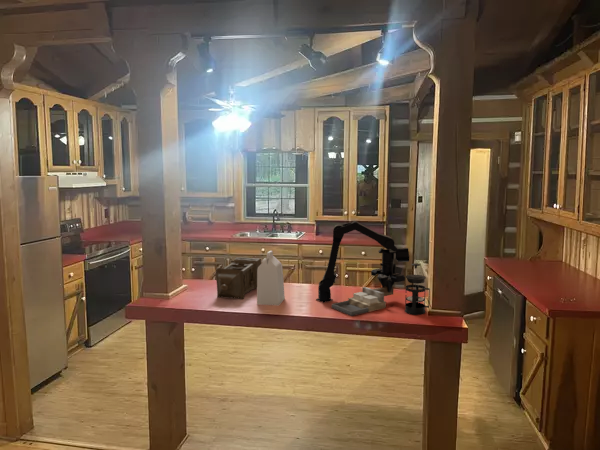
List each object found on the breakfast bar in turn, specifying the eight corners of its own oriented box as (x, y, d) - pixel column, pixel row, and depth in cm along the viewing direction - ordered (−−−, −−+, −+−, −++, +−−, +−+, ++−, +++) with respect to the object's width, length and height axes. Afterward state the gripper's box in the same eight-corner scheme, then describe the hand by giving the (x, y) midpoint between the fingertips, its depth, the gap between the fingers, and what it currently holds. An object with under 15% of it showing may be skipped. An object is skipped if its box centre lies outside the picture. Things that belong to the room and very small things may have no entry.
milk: (279, 305, 227) (277, 254, 224) (256, 304, 230) (255, 253, 226) (284, 298, 239) (283, 249, 236) (263, 297, 241) (262, 249, 238)
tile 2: (362, 301, 221) (362, 296, 221) (370, 299, 224) (370, 295, 223) (369, 304, 217) (369, 299, 217) (377, 302, 220) (377, 297, 219)
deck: (348, 304, 227) (348, 298, 227) (365, 300, 233) (365, 294, 233) (368, 311, 215) (368, 305, 215) (385, 307, 221) (385, 301, 220)
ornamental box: (235, 309, 230) (238, 275, 227) (204, 302, 235) (206, 268, 231) (261, 289, 263) (264, 259, 260) (233, 284, 268) (236, 253, 264)
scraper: (362, 294, 231) (362, 287, 231) (382, 290, 239) (382, 283, 238) (381, 301, 220) (381, 293, 219) (401, 296, 227) (401, 289, 227)
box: (331, 308, 222) (331, 304, 222) (348, 304, 227) (348, 300, 227) (351, 316, 209) (351, 312, 209) (368, 312, 215) (368, 307, 215)
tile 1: (353, 298, 227) (353, 293, 227) (361, 296, 230) (361, 291, 229) (360, 300, 223) (360, 295, 222) (367, 298, 225) (367, 294, 225)
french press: (401, 313, 212) (402, 265, 209) (404, 307, 220) (405, 261, 217) (428, 316, 207) (429, 266, 204) (430, 310, 216) (431, 262, 213)
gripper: (413, 262, 226) (412, 293, 228) (386, 256, 241) (386, 285, 243) (396, 265, 220) (396, 297, 222) (370, 259, 235) (370, 288, 237)
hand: (387, 291), depth 231 cm, fingers closed on scraper, 2 cm apart
